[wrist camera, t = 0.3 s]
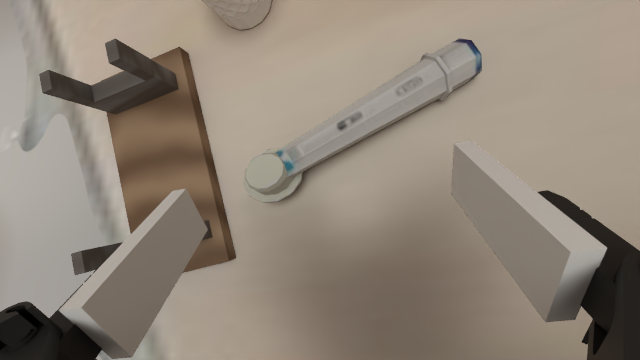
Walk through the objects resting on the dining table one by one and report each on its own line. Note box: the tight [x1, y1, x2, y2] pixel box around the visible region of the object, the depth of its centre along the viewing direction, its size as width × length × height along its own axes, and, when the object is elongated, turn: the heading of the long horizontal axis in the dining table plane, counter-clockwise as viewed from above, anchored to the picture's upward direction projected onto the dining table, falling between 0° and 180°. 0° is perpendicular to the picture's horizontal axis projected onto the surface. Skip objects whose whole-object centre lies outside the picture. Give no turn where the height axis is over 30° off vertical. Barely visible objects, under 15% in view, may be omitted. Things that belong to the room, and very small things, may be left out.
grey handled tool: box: [244, 39, 482, 202], centre depth 27 cm, size 5×7×25 cm
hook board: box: [39, 39, 236, 275], centre depth 29 cm, size 26×12×9 cm, turn 15°
